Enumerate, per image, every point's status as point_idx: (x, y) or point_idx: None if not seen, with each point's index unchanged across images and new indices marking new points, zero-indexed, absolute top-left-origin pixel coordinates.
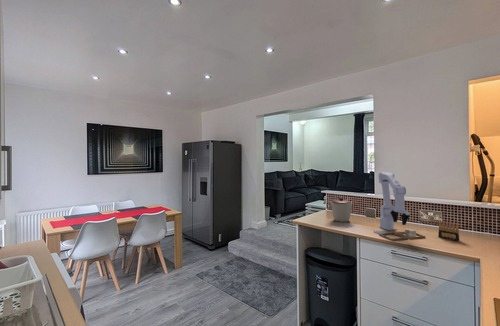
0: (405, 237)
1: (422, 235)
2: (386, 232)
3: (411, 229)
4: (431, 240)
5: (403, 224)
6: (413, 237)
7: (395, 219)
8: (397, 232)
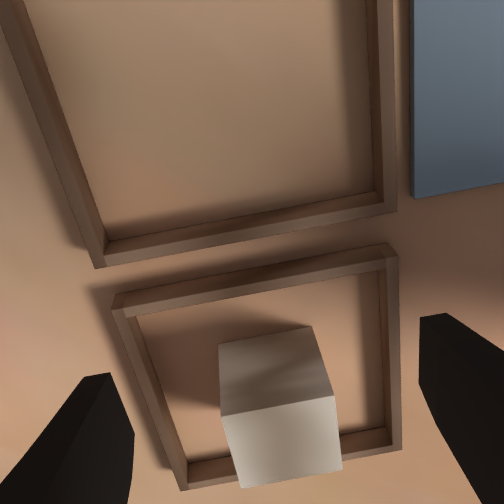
0: (125, 248)
1: (210, 479)
2: (481, 114)
3: (293, 462)
4: None
5: (75, 391)
6: (128, 352)
7: (458, 406)
8: (387, 271)
